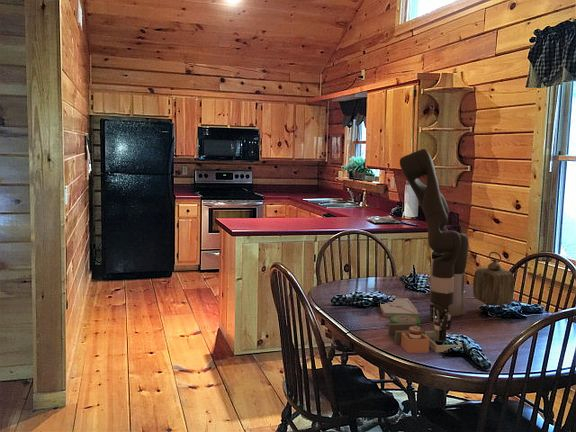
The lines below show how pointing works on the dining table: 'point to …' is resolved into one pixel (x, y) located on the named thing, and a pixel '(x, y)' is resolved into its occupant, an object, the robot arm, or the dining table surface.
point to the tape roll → (405, 319)
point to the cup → (415, 344)
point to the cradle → (399, 331)
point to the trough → (439, 347)
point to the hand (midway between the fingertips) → (439, 337)
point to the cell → (436, 330)
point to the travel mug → (434, 256)
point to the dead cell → (415, 332)
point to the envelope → (399, 308)
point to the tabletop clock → (493, 284)
